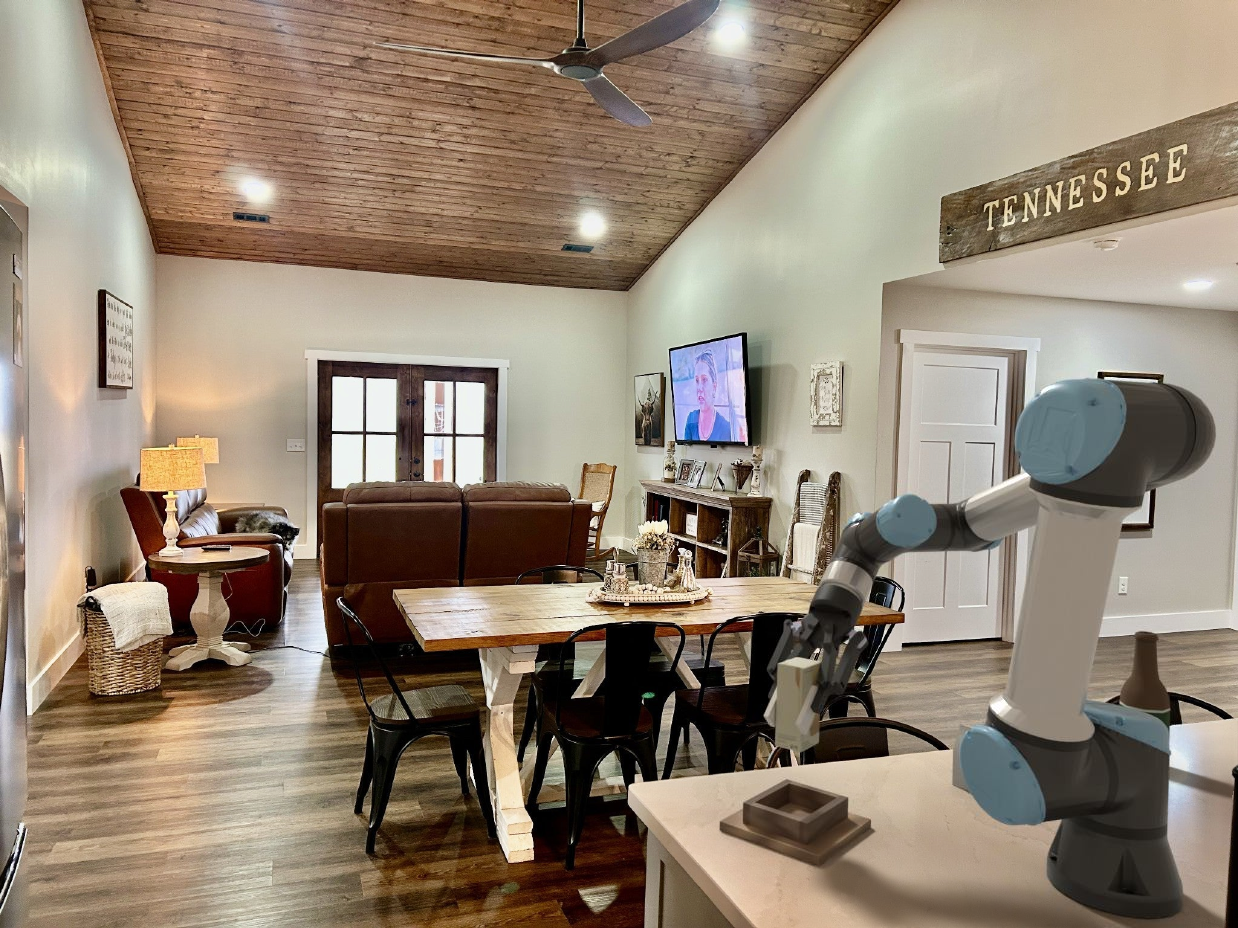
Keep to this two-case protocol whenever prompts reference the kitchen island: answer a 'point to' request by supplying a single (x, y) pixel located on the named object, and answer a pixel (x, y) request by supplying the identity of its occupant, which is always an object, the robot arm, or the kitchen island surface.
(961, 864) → the kitchen island surface
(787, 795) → the walnut box stand
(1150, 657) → the beer bottle
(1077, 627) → the robot arm
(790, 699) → the skincare box
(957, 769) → the grey rectangular block
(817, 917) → the kitchen island surface
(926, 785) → the kitchen island surface
